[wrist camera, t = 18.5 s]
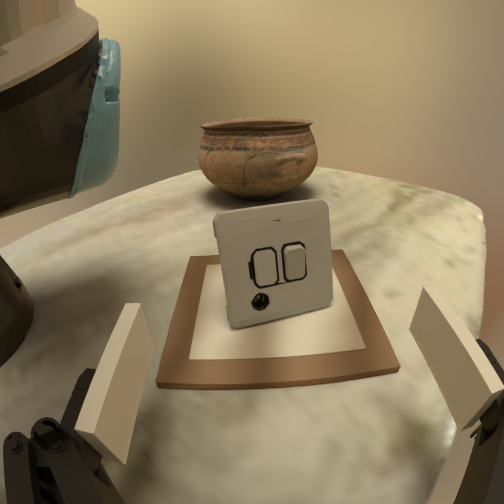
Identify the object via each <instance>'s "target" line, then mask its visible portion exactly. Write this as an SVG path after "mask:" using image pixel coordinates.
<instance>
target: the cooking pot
mask: <svg viewBox="0 0 504 504" xmlns="http://www.w3.org/2000/svg"><path fill="white" fill-rule="evenodd" d="M312 123H313V121H311V120H307V119H300V118H285V117H257V118H239V119H228V120H221V121H213V122H208V123H204V124H202V125H200V126H201V128H203V129H204V130H205V131H204V134H203V137H202V140H201V144H200V148H199V156H198V160H199V166H200V168H201V170H202V172H203V174H204V175H205V176H206V178H207V179H208V180H209V181H210V182H211V183H213V184H214V185H216V186H218V187H219V188H221V189H224V190H226V191H228V192H230V193H233V194H235V195H238V196H240V197H241V198H243V199H247V200H255V201H260V200H269V199H273V198H276V197H278V196H279V195H281V194H283V193H285V192H287V191H289V190H291V189H292V188H294V187H296V186H298V185H299V184H301V183H302V182H304V181H305V180H306V179H307V178H308V177H309V176H310V175H311V173H312V172H313V170H314V168H315V166H316V163H317V158H318V157H317V156H318V153H317V147H316V143H315V140H314V137H313V135H312V132H311V130H310V128H309V126H310V125H311V124H312Z"/></svg>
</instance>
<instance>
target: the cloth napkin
mask: <svg viewBox="0 0 504 504" xmlns="http://www.w3.org/2000/svg"><path fill="white" fill-rule="evenodd" d="M331 255H332V276H333V300H332V302H331V303H330V305H328V306H325V307H322V308H318V309H314V310H311V311H307V312H303V313H299V314H295V315H291V316H287V317H283V318H279V319H275V320H271V321H267V322H263V323H258V324H254V325H250V326H245V327H241V328H237V327H234V326H233V325H232V324H231V323H230V322H229V320H228V317H227V312H226V306H227V302H226V296H225V289H224V283H223V277H222V270H221V264H220V257H219V255H211V256H190V259H189V262H188V266H187V269H186V272H185V275H184V279H183V282H182V286H181V289H180V292H179V296H178V299H177V303H176V306H175V310H174V313H173V317H172V320H171V324H170V328H169V331H168V335H167V339H166V343H165V346H164V350H163V354H162V358H161V362H160V366H159V370H158V374H157V378H156V384H157V386H158V387H160V388H179V389H257V388H276V387H290V386H302V385H313V384H322V383H331V382H338V381H346V380H353V379H359V378H366V377H372V376H378V375H383V374H389V373H394V372H398V371H399V368H400V364H399V362H398V359H397V357H396V355H395V353H394V351H393V348H392V346H391V344H390V342H389V340H388V338H387V335H386V333H385V331H384V329H383V327H382V325H381V323H380V321H379V319H378V317H377V315H376V313H375V311H374V309H373V307H372V305H371V303H370V301H369V299H368V297H367V295H366V293H365V291H364V289H363V287H362V285H361V283H360V281H359V279H358V277H357V275H356V274H355V272H354V270H353V268H352V266H351V264H350V262H349V261H348V259H347V257H346V255H345V253H344V251H343V250H331ZM257 297H260V295H258V296H257Z"/></svg>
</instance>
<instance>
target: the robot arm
mask: <svg viewBox="0 0 504 504" xmlns="http://www.w3.org/2000/svg"><path fill="white" fill-rule="evenodd" d="M119 85H120V47H119V43H118V42H117V41H115V40H109V39H107V38H105V39H101V40H100V41H99V33H98V21H97V19H96V18H95V17H94V16H92V15H90V14H89V13H87V12H85V11H84V10H82V9H80V8H78V7H77V6H76V4H75V0H0V218H3V217H6V216H9V215H12V214H15V213H19V212H22V211H25V210H28V209H31V208H35V207H38V206H41V205H45V204H48V203H52V202H55V201H59V200H62V199H66V198H68V199H69V198H73V197H74V196H75V195H76V194H78V193H81V192H84V191H87V190H90V189H93V188H96V187H99V186H102V185H104V184H105V183H107V182H108V181H109V180H110V179H111V178H112V176H113V175H114V173H115V171H116V168H117V163H118V152H119V122H120V121H119V120H120V102H119V98H118V96H119V92H120V89H119ZM32 316H33V303H32V301H31V298H30V296H29V294H28V292H27V290H26V288H25V286H24V284H23V282H22V281H21V280H20V279H19V277H18V276H17V275H16V274H15V273H14V271H13V270H12V269H11V268H10V267H9V265H8V264H7V263H6V262H5V260H4V259H3V258H2V257H1V255H0V364H1V363H3V362H4V361H5V360H6V359H7V358H8V357H9V356H10V355H11V353H12V352H13V351H14V350H15V349H16V347H17V346H18V345H19V343H20V342H21V341H22V339H23V337H24V336H25V334H26V332H27V330H28V328H29V326H30V323H31V320H32ZM409 330H410V332H411V333H412V335H413V337H414V339H415V341H416V343H417V344H418V346H419V348H420V350H421V352H422V354H423V356H424V358H425V360H426V362H427V364H428V366H429V367H430V369H431V371H432V373H433V375H434V377H435V380H436V382H437V384H438V386H439V388H440V390H441V392H442V394H443V396H444V398H445V401H446V403H447V405H448V407H449V409H450V412H451V414H452V416H453V418H454V421H455V423H456V425H457V428H458V430H459V431H463V430H465V429H467V428H470V427H472V426H473V425H474V424H475V423H476V422H477V421H478V420H479V419H480V421H481V424H480V425H479V426H478V427H477V428H476V430H475V431H473V432H472V434H471V435H470V438H472V437H473V436H474V435H475V434H476V433H477V435H476V437H475V442H474V446H473V449H472V453H471V456H470V460H469V463H468V466H467V469H466V472H465V475H464V478H463V480H462V483H461V486H460V488H459V491H458V494H457V496H456V499H455V501H454V503H453V504H504V371H503V369H502V367H501V366H500V364H499V363H498V362H497V360H496V358H495V356H493V354H492V352H491V350H490V349H489V347H488V346H487V345H486V344H485V343H483V342H482V341H481V340H480V339H476V340H475V339H474V337H473V336H472V334H471V333H470V332H469V330H468V329H467V327H466V326H465V324H464V323H463V322H462V320H461V319H460V317H459V316H458V315H457V313H456V312H455V310H454V309H453V308H452V306H451V305H450V304H449V302H448V301H447V300H446V298H445V297H444V296H443V294H442V293H441V292H440V291H439V289H438V288H437V287H436V285H434V286H425V287H423V289H422V292H421V296H420V299H419V302H418V305H417V308H416V311H415V314H414V316H413V319H412V322H411V325H410V328H409ZM154 349H155V343H154V341H153V338H152V335H151V332H150V329H149V326H148V323H147V320H146V317H145V314H144V311H143V308H142V305H141V303H126V304H125V306H124V308H123V310H122V312H121V314H120V317H119V319H118V321H117V323H116V325H115V328H114V330H113V332H112V334H111V337H110V339H109V341H108V343H107V346H106V348H105V350H104V353H103V355H102V357H101V360H100V362H99V365H98V367H97V369H89V368H87V369H86V370H85V371H84V372H83V373H82V374H81V375H80V376H79V378H78V380H77V383H76V385H75V389H74V390H73V392H72V395H71V398H70V400H69V402H68V405H67V407H66V410H65V412H64V415H63V418H62V420H61V423H60V424H59V423H58V422H57V421H56V420H55V419H53V418H49V417H45V418H41V419H40V420H38V421H37V422H36V423H35V424H34V426H33V427H32V430H31V439H28V438H27V437H26V436H25V435H24V434H22V433H20V432H13V433H10V434H9V435H8V436H7V437H6V439H5V441H4V445H3V459H4V477H5V488H6V497H7V504H125V503H124V501H123V500H122V498H121V496H120V495H119V493H118V492H117V490H116V488H115V487H114V485H113V483H112V482H111V480H110V478H109V476H108V475H107V473H106V471H105V469H104V467H103V466H102V464H101V463H100V462H101V458H102V457H103V458H104V459H106V460H107V461H108V462H111V463H116V464H121V465H126V461H127V456H128V452H129V447H130V442H131V438H132V434H133V429H134V425H135V421H136V417H137V413H138V408H139V404H140V400H141V397H142V393H143V389H144V385H145V381H146V377H147V374H148V370H149V366H150V363H151V359H152V356H153V352H154Z"/></svg>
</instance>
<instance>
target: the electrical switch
mask: <svg viewBox="0 0 504 504" xmlns="http://www.w3.org/2000/svg"><path fill="white" fill-rule="evenodd" d="M213 228H214V235H215V238H217V244H218V250H219V257H220V264H221V270H222V277H223V283H224V289H225V296H226V302H227V306H226V312H227V317H228V320H229V322H230V323H231V324H232V325H233V326H234V327H237V328H241V327H245V326H250V325H254V324H258V323H263V322H267V321H271V320H275V319H279V318H283V317H287V316H291V315H295V314H299V313H303V312H307V311H311V310H314V309H318V308H322V307H325V306H328V305H330V303H331V302H332V300H333V276H332V255H331V238H330V223H329V210H328V205H327V203H326V202H324V201H323V200H320V199H309V200H301V201H293V202H285V203H278V204H270V205H263V206H256V207H249V208H242V209H235V210H229V211H222V212H219V213H217V214H216V216H215V217H214V219H213ZM258 295H260V297H257V296H258Z"/></svg>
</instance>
